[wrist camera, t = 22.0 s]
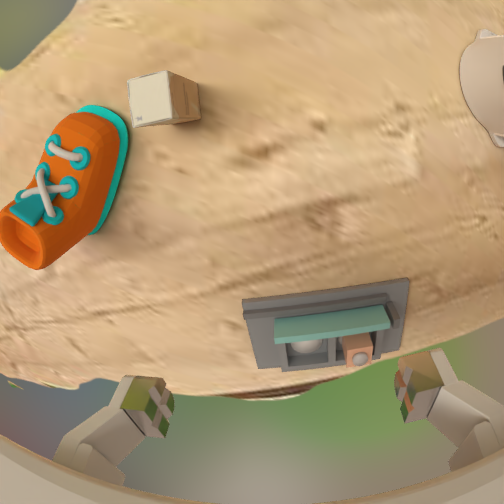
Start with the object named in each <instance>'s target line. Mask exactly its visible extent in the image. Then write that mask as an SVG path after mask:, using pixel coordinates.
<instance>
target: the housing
mask: <svg viewBox="0 0 504 504" xmlns="http://www.w3.org/2000/svg"><path fill="white" fill-rule="evenodd" d="M408 289H409V280H408V278H402V279H396V280H390V281H383V282H377V283H370V284H363V285H357V286H350V287H343V288H335V289H328V290H320V291H312V292H304V293H296V294H288V295H279V296H270V297H261V298H251V299H242V306H243V310H244V311H243V317H244V320H246V323H247V327H248V331H249V335H250V339H251V343H252V347H253V351H254V355H255V359H256V362H257V366H258V369H264V368H277V367H281V369H282V372H287V371H298V370H307V369H316V368H324V367H332V366H339V365H346V362H345V357H344V353H343V348H342V336H340V337H333V338H326V339H318V340H310V341H301V342H292V343H282V344H275V341H274V319H279V318H288V317H297V316H305V315H314V314H321V313H329V312H336V311H343V310H350V309H357V308H364V307H370V306H376V305H383V307H384V309H385V311H386V313H387V316H388V318H389V320H390V328H389V329H383V330H378V331H372V332H369V335H370V338H371V341H372V344H373V351H372V360H376V359H380V357H381V354H382V353H387V352H392V351H397V350H399V348H400V342H401V337H402V331H403V325H404V319H405V312H406V305H407V297H408Z"/></svg>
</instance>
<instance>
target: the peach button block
mask: <svg viewBox="0 0 504 504" xmlns="http://www.w3.org/2000/svg"><path fill="white" fill-rule="evenodd" d="M342 348H343V353H344V357H345V362H346V367H353V366H362V365H365V364H371V360H372V351H373V344H372V341H371V338H370V335H369V332H366V333H360V334H354V335H347V336H342Z"/></svg>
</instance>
